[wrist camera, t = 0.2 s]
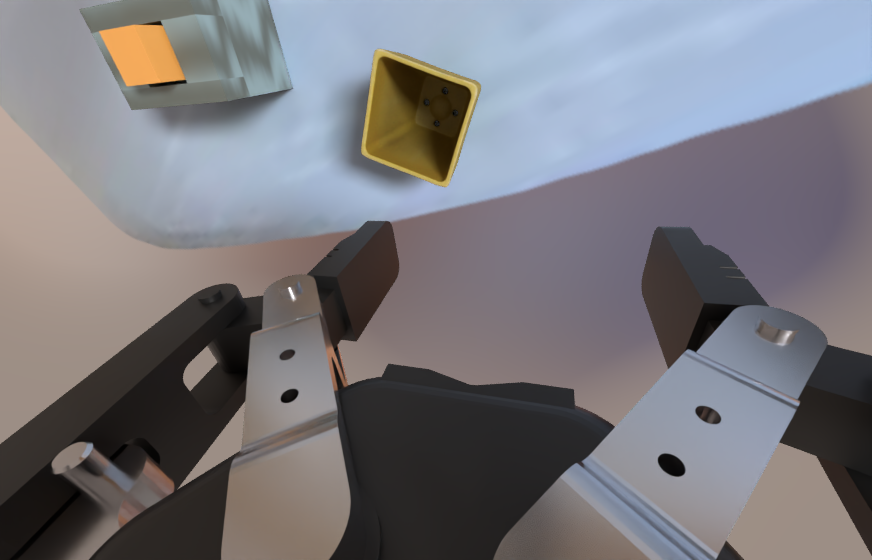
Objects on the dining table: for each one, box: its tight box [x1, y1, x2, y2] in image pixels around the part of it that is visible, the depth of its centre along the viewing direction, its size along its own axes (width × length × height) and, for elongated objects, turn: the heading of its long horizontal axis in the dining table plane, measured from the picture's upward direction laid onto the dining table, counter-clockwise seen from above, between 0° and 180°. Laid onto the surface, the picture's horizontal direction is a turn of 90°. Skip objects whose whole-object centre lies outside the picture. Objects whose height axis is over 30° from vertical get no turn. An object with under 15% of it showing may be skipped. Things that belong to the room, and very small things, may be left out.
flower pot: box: [361, 49, 481, 187], centre depth 33 cm, size 9×9×9 cm
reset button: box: [99, 25, 186, 86], centre depth 30 cm, size 4×4×3 cm
